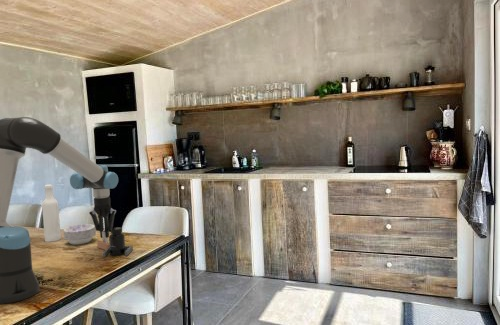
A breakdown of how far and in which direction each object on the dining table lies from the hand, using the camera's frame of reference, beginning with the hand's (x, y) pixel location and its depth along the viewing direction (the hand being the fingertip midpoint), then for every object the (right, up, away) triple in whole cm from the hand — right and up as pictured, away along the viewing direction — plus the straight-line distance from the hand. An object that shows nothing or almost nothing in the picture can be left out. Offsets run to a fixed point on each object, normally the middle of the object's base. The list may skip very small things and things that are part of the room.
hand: (105, 243), depth 192 cm
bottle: (-35, -2, +17) cm, 39 cm away
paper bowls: (-17, -2, +11) cm, 20 cm away
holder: (+6, -2, -8) cm, 10 cm away
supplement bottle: (+10, -2, -12) cm, 16 cm away
